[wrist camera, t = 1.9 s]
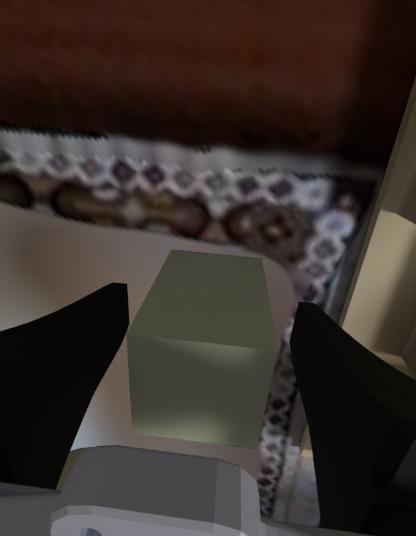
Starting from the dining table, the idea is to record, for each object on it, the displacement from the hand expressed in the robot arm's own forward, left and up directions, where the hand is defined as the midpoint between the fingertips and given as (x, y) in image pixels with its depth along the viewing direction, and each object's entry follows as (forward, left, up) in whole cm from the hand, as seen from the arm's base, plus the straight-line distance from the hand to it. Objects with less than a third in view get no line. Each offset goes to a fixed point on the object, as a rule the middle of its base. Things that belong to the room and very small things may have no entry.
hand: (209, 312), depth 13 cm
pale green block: (0, 0, -2) cm, 2 cm away
